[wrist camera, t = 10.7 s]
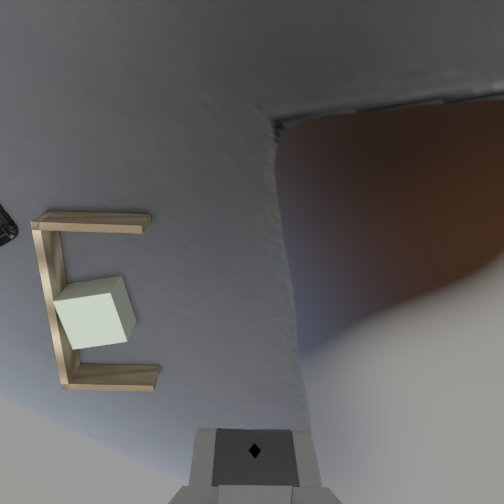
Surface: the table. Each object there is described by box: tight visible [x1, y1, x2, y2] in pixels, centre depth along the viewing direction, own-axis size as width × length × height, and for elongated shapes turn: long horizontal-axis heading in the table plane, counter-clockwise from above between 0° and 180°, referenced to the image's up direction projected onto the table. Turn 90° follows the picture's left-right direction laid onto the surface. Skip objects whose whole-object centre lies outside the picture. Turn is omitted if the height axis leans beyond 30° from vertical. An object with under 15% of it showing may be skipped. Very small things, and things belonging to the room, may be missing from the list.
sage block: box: [53, 276, 136, 350], centre depth 43 cm, size 6×6×4 cm
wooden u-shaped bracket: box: [31, 211, 160, 391], centre depth 42 cm, size 20×10×4 cm, turn 178°
